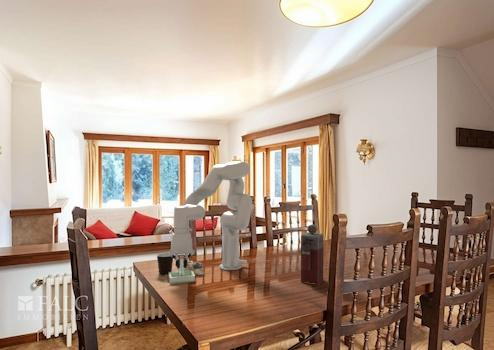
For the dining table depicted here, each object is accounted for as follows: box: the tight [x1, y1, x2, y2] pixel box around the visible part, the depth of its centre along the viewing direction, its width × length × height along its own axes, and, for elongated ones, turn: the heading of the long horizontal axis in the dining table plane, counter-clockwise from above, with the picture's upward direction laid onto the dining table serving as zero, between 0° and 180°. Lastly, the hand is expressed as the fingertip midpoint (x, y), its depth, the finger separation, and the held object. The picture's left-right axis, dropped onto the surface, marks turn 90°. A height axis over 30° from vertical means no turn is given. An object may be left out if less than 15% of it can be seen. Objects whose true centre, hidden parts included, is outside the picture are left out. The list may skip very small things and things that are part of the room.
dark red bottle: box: [300, 224, 324, 285], centre depth 165 cm, size 9×11×28 cm
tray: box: [168, 270, 196, 285], centre depth 167 cm, size 12×10×3 cm
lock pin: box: [178, 254, 185, 277], centre depth 167 cm, size 3×3×11 cm
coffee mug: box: [156, 252, 174, 276], centre depth 179 cm, size 12×9×10 cm
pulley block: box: [185, 260, 204, 276], centre depth 178 cm, size 11×7×6 cm, turn 107°
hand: (181, 267), depth 167 cm, fingers closed on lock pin, 3 cm apart
